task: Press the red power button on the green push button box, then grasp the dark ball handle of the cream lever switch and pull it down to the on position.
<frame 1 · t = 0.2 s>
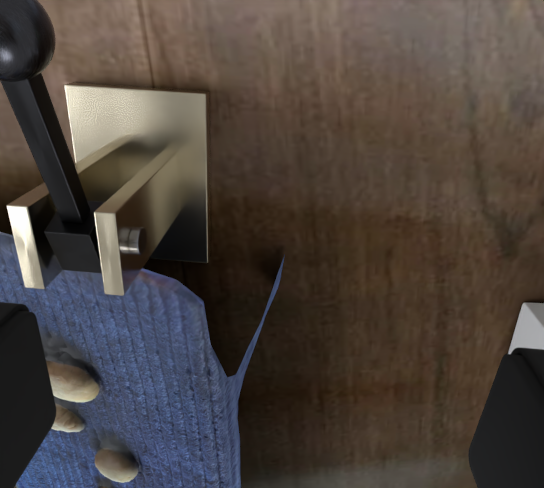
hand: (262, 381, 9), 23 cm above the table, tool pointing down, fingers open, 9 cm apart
lever switch: (50, 151, 19), point 12 cm above the table, hinge at 20.0°
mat: (132, 420, 43), on the table
metal lever base: (147, 176, 32), on the table
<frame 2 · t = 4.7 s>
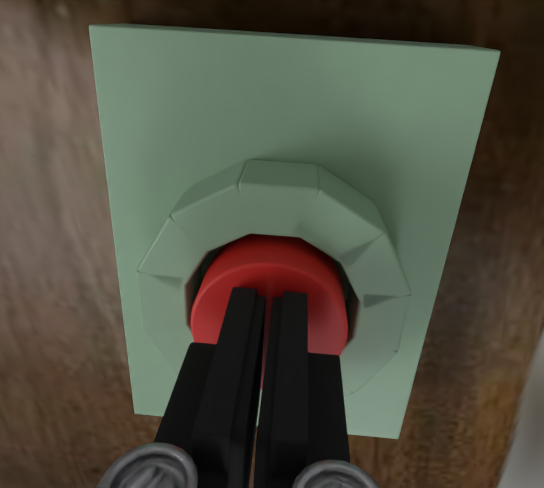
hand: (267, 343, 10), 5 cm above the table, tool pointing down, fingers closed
power button: (270, 310, 11), point 4 cm above the table, slide at -0.5 cm, touching gripper
green push button box: (279, 239, 14), on the table
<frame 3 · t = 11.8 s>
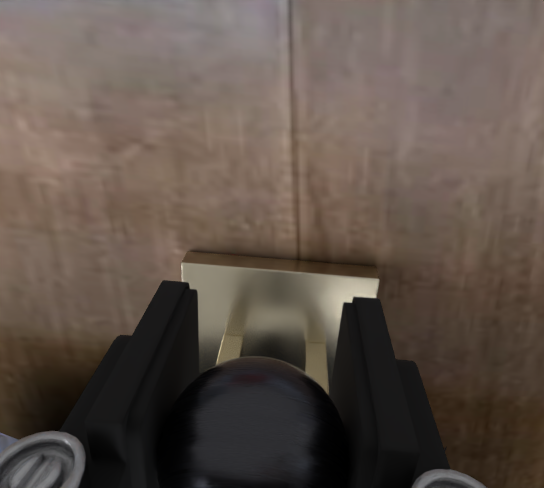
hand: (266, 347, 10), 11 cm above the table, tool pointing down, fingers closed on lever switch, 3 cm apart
metal lever base: (273, 357, 24), on the table
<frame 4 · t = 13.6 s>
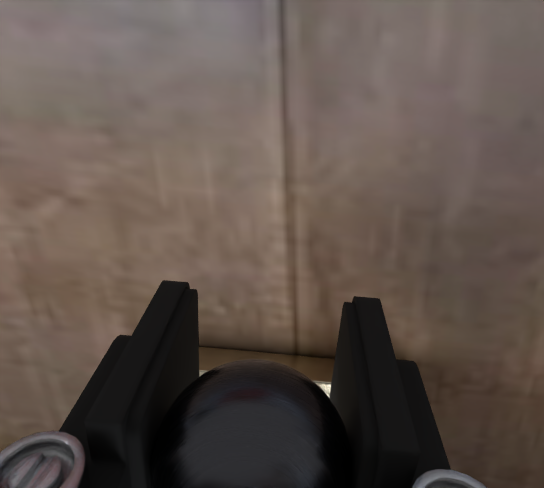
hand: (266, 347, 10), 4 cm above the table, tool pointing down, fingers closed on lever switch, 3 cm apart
metal lever base: (263, 471, 18), on the table
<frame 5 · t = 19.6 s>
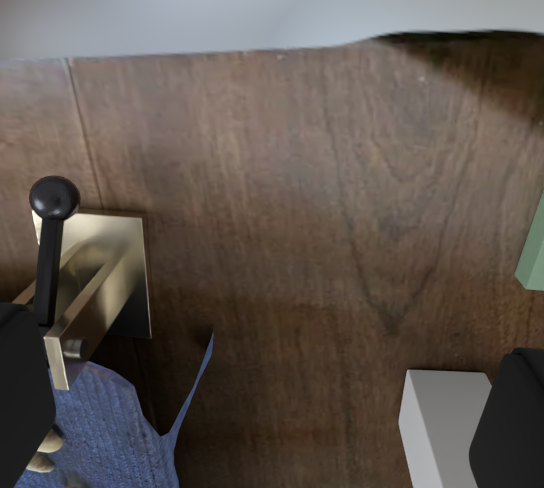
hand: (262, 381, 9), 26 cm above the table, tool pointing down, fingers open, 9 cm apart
lever switch: (48, 269, 31), point 8 cm above the table, hinge at -28.5°
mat: (99, 456, 51), on the table
milk carton: (438, 396, 43), on the table
metal lever base: (101, 271, 39), on the table
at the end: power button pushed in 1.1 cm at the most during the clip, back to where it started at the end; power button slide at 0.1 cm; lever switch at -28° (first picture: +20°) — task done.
